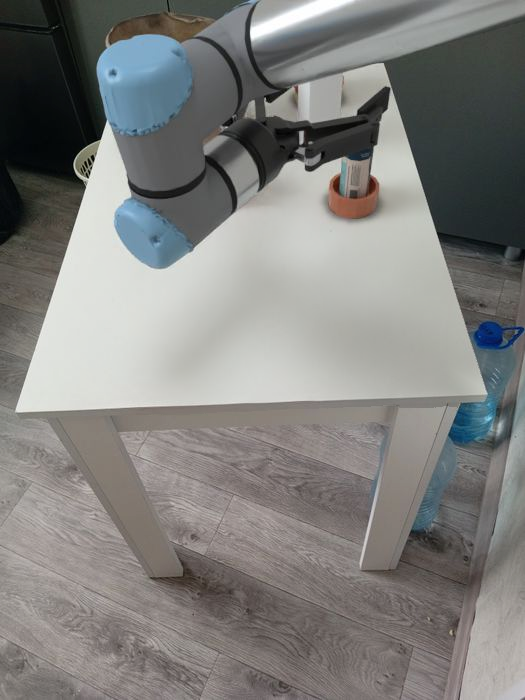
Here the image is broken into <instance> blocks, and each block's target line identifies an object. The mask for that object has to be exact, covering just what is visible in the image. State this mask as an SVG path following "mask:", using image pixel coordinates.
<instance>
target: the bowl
mask: <svg viewBox="0 0 525 700" xmlns="http://www.w3.org/2000/svg"><path fill="white" fill-rule="evenodd" d="M216 21H217V20H215V19H213V18H209V17H204V16H199V15H192V14H187V13H186V14H183V13H174V12H169V11H167V10H165V11H161V12H154V13H148V14H144V15H137V16H133V17H130V18H127V19H125V20H122V21H120V22H118V23H116V24H115V25H114V26H113V27H112V28H111V29H110V31H109V32H108V34H107V35H106V38H105V47H106V49H107V48H108V47H109V46H111V45H112V44H114V43H116V42H118V41H121V40H129V39H131V38H132V37H134V36H138V35H146V34H154V35H163V36H167V37H170V38H173V39H174V40H176V41H178V42H179V43H180V44H181V43H182V42H184V41H186V40H188V39H189V38H192V37H194V36H195V35H197V34H198V33H200V32H201V31H202V30H204V29H205V28H207V27H208V26H210V25H211V24H213V23H214V22H216ZM219 133H221V132H220V127H219V128H218V129H216V130H215V131H214V132H213V133H211V134H210V135H209V136H208V137H206V138H205V139H204V141H203V145H204V144H205V143H206V142H207V141H209V140H210V139H211V138H213V137H215V136H217V135H218V134H219Z"/></svg>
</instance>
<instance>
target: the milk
mask: <svg viewBox="0 0 525 700" xmlns="http://www.w3.org/2000/svg"><path fill="white" fill-rule="evenodd" d="M343 76H344V73H340V74H337V75H333V76H329V77H326V78H322V79H319V80H315V81H312V82H308V83H305V84H301V85H298V105H297V122H298V121H304V120H308V121H309V122H310V123H316V122H322V121H327V120H333V119H339V118H341V109H342V95H343V88H342V82H343ZM303 141H304V131H299V144H302V143H303Z"/></svg>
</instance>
